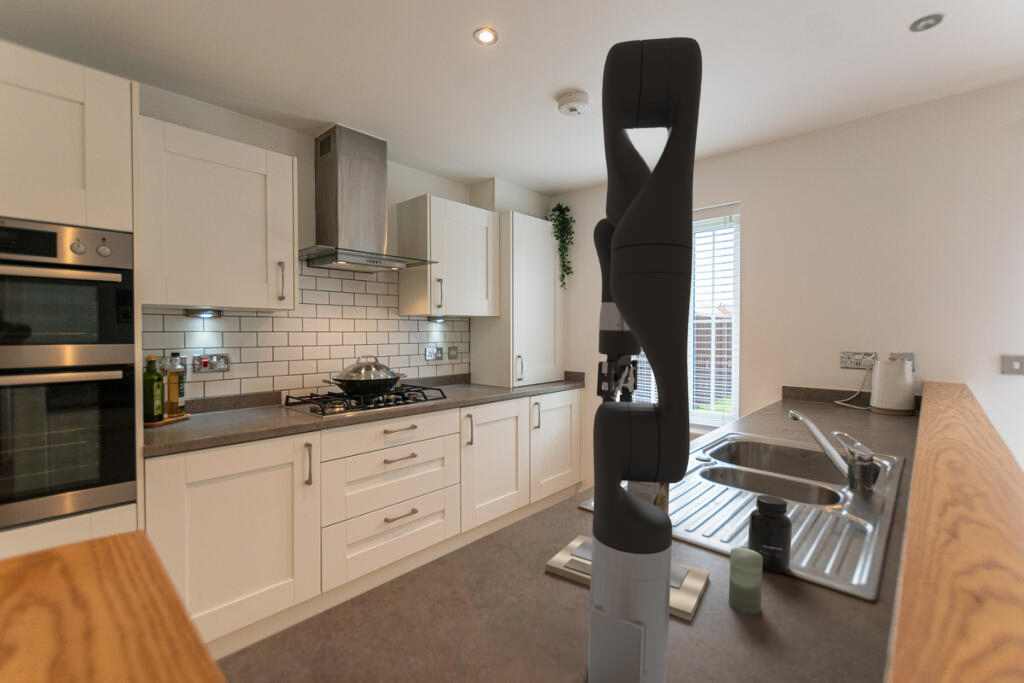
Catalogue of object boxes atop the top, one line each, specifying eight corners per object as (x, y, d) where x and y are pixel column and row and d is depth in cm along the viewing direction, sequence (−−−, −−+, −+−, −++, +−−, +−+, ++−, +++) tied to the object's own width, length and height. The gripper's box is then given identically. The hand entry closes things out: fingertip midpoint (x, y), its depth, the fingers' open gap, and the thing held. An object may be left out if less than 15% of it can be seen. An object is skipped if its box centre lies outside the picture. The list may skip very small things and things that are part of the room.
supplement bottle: (767, 576, 80) (770, 507, 80) (738, 557, 87) (741, 494, 87) (799, 571, 82) (802, 504, 82) (768, 553, 89) (771, 491, 89)
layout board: (690, 621, 67) (691, 611, 67) (545, 570, 80) (545, 562, 80) (708, 578, 79) (709, 570, 79) (579, 540, 92) (579, 533, 92)
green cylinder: (759, 618, 68) (761, 564, 68) (726, 607, 71) (728, 555, 71) (761, 603, 72) (764, 553, 72) (730, 594, 75) (732, 545, 74)
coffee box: (642, 511, 108) (644, 442, 108) (669, 518, 104) (671, 447, 104) (624, 523, 101) (627, 449, 101) (653, 531, 97) (655, 455, 97)
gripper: (627, 328, 76) (623, 426, 76) (652, 329, 88) (649, 414, 88) (584, 327, 80) (582, 420, 81) (614, 328, 92) (611, 409, 92)
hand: (617, 417), depth 84 cm, fingers open, 8 cm apart
